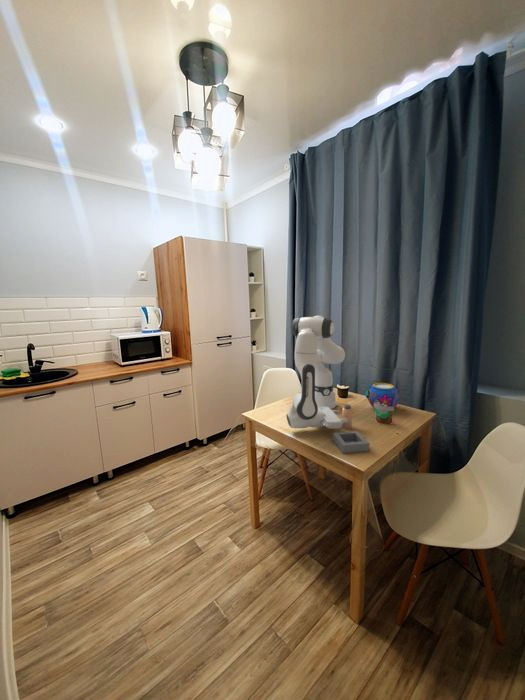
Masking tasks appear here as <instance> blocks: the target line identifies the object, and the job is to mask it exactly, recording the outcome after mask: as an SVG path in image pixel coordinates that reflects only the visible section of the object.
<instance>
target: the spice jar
mask: <svg viewBox="0 0 525 700" xmlns="http://www.w3.org/2000/svg"><path fill="white" fill-rule="evenodd" d="M344 418H347V419H348V422H345V423H343V424H342V428H341V429H342V430H343V429H344V430H346V431H347V430H348V431H350V430H352V428H353V407H352V406H351V404H343V406H342V407H341V419H344Z"/></svg>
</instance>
